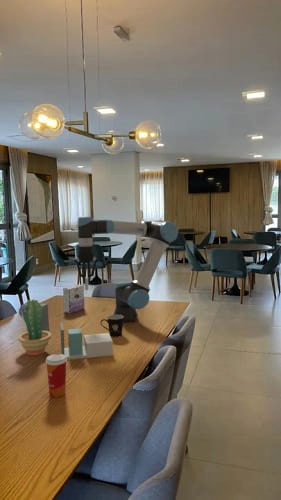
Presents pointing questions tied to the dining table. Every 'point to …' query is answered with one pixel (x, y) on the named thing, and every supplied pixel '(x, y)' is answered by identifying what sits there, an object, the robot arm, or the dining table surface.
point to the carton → (75, 341)
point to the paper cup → (56, 374)
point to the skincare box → (45, 318)
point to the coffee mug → (114, 325)
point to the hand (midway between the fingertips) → (86, 289)
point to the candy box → (73, 298)
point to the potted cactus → (33, 329)
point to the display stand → (90, 346)
